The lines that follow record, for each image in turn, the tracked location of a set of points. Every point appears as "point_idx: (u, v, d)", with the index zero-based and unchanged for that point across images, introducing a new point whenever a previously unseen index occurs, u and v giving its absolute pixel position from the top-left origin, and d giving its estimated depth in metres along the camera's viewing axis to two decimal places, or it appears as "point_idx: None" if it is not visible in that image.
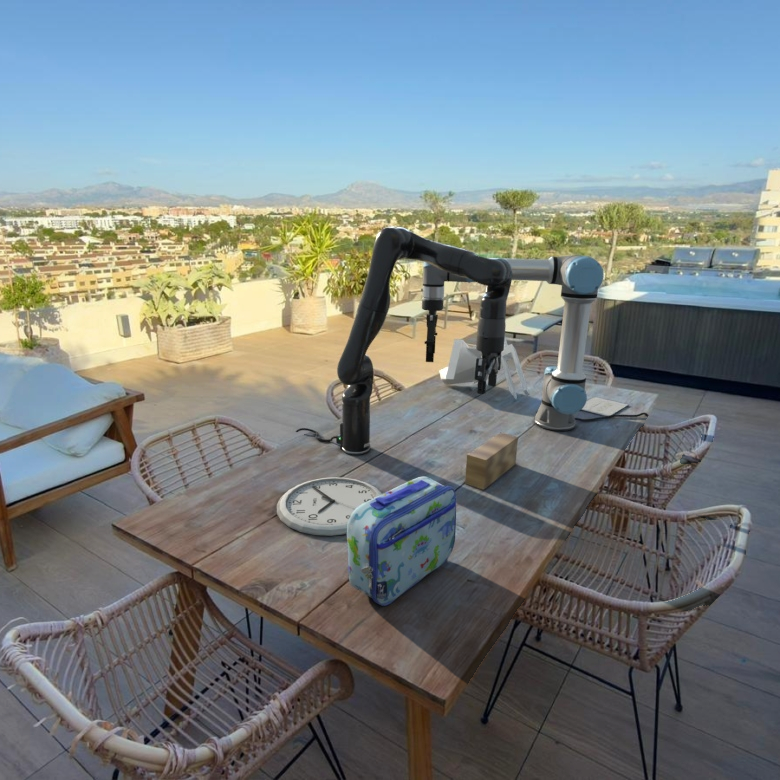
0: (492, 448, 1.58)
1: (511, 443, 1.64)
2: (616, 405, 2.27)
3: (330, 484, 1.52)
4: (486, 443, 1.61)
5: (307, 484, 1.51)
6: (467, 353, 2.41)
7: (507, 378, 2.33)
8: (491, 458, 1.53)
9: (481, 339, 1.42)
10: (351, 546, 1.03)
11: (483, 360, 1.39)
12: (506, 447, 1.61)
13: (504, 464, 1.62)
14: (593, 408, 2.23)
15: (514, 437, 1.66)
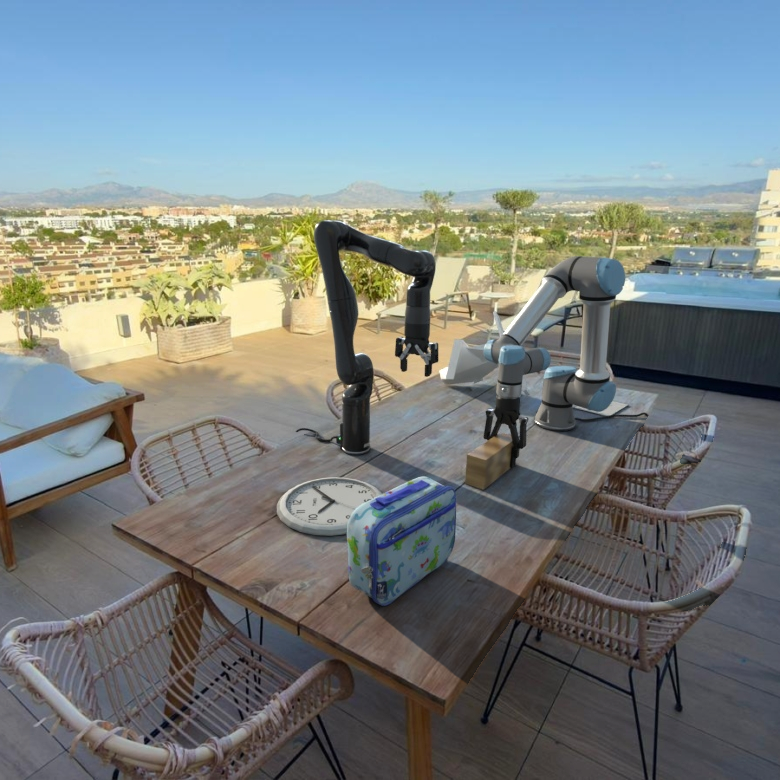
0: (492, 448, 1.58)
1: (511, 443, 1.64)
2: (616, 405, 2.27)
3: (330, 484, 1.52)
4: (486, 443, 1.61)
5: (307, 484, 1.51)
6: (467, 353, 2.41)
7: None
8: (491, 458, 1.53)
9: (424, 326, 1.51)
10: (351, 546, 1.03)
11: (437, 343, 1.53)
12: (506, 447, 1.61)
13: (504, 464, 1.62)
14: None
15: None
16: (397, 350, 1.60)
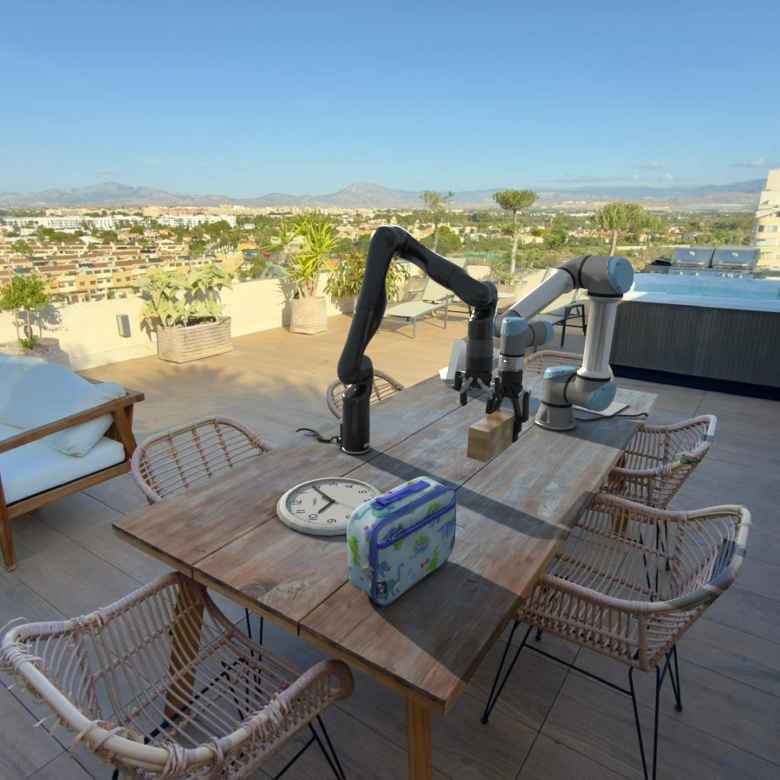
0: (494, 421, 1.55)
1: (514, 417, 1.61)
2: (616, 405, 2.27)
3: (330, 484, 1.52)
4: (488, 417, 1.59)
5: (307, 484, 1.51)
6: None
7: None
8: (494, 430, 1.51)
9: (487, 359, 1.44)
10: (351, 546, 1.03)
11: (501, 377, 1.45)
12: (508, 420, 1.58)
13: (506, 438, 1.60)
14: None
15: None
16: (457, 384, 1.52)
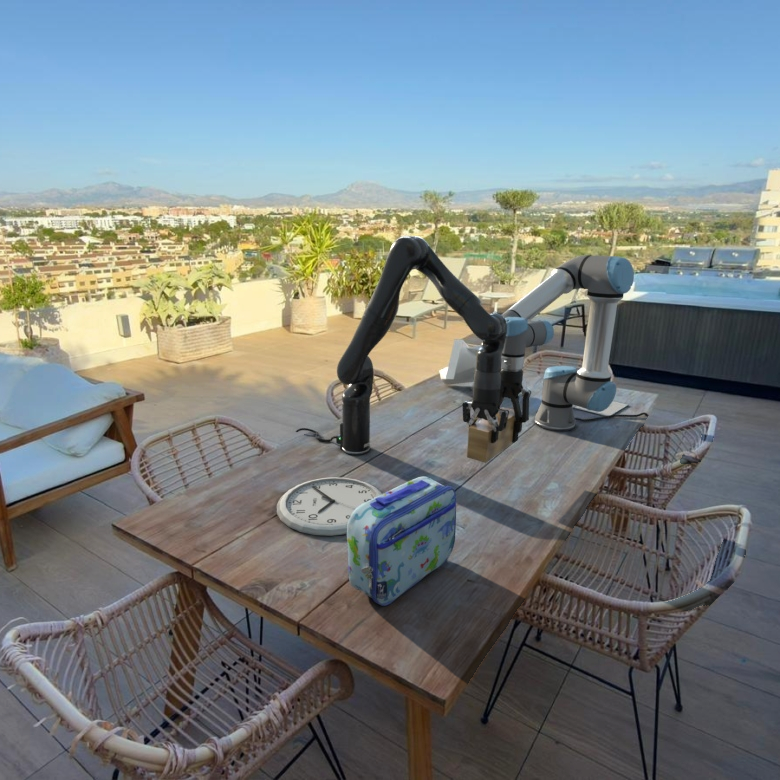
0: None
1: (514, 417, 1.61)
2: (616, 405, 2.27)
3: (330, 484, 1.52)
4: None
5: (307, 484, 1.51)
6: (467, 353, 2.41)
7: None
8: None
9: (495, 392, 1.45)
10: (351, 546, 1.03)
11: (508, 411, 1.47)
12: (508, 421, 1.58)
13: (507, 438, 1.60)
14: None
15: None
16: (465, 415, 1.53)
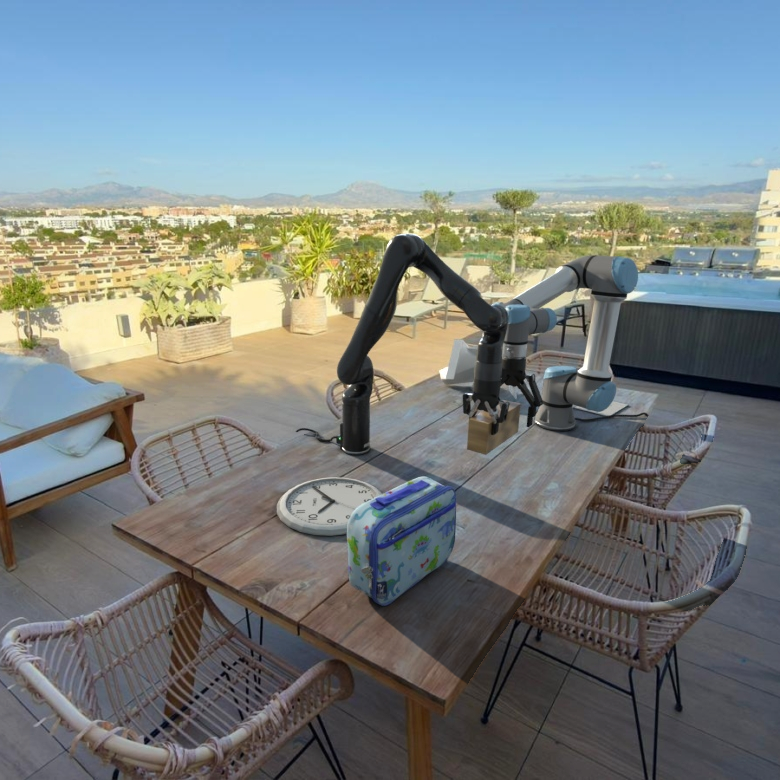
0: None
1: (514, 409, 1.60)
2: (616, 405, 2.27)
3: (330, 484, 1.52)
4: None
5: (307, 484, 1.51)
6: (467, 353, 2.41)
7: None
8: None
9: (496, 383, 1.44)
10: (351, 546, 1.03)
11: (508, 403, 1.46)
12: (509, 413, 1.57)
13: (507, 431, 1.59)
14: None
15: (517, 404, 1.63)
16: (465, 407, 1.52)
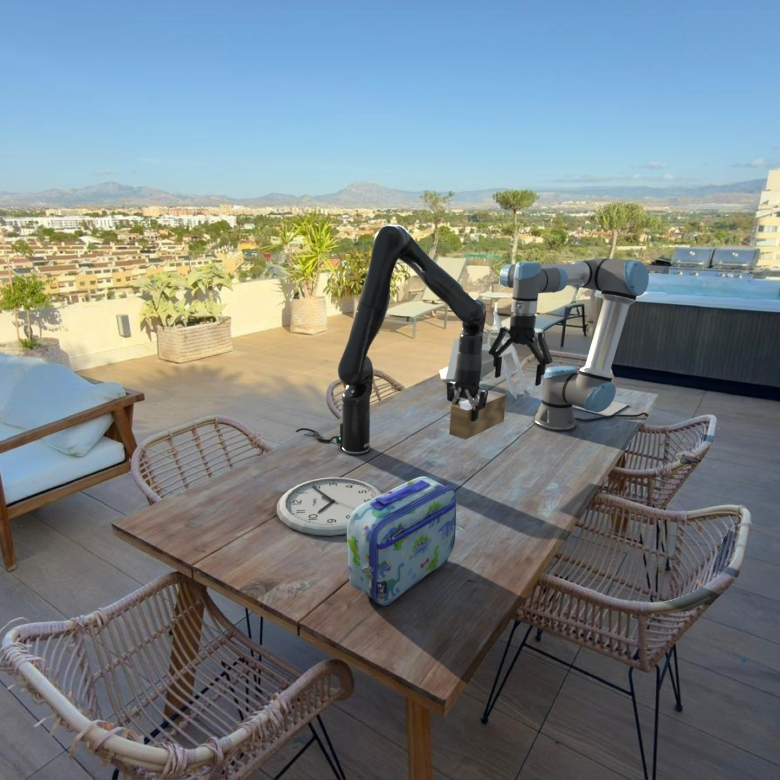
0: None
1: (498, 399, 1.70)
2: (616, 405, 2.27)
3: (330, 484, 1.52)
4: (473, 398, 1.69)
5: (307, 484, 1.51)
6: None
7: (507, 378, 2.33)
8: None
9: (475, 373, 1.55)
10: (351, 546, 1.03)
11: (487, 392, 1.56)
12: (492, 402, 1.67)
13: (490, 419, 1.69)
14: None
15: (502, 395, 1.73)
16: (449, 394, 1.64)
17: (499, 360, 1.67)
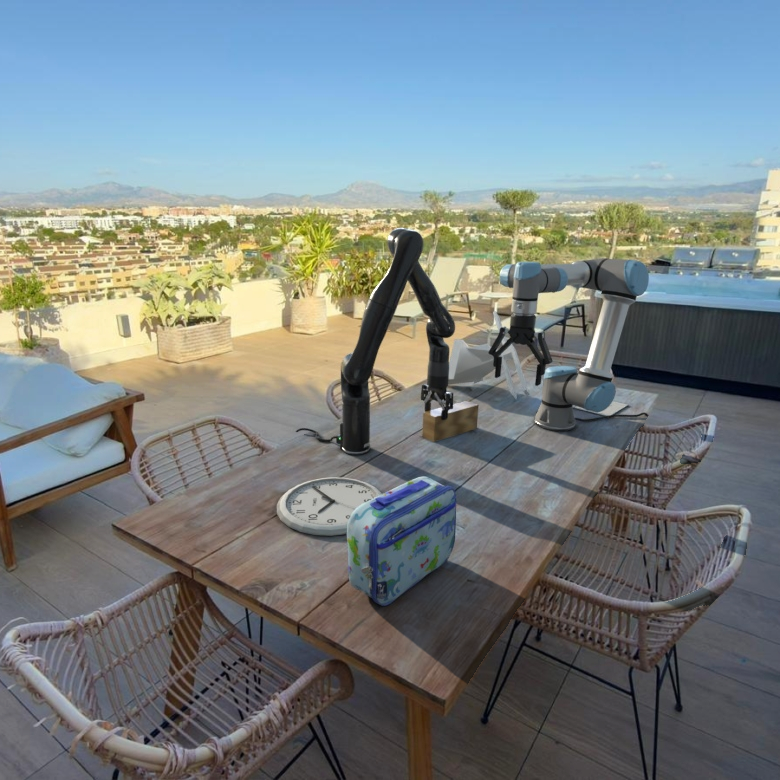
0: (448, 410, 1.90)
1: (469, 408, 1.94)
2: (616, 405, 2.27)
3: (330, 484, 1.52)
4: None
5: (307, 484, 1.51)
6: (467, 353, 2.41)
7: (507, 378, 2.33)
8: None
9: (441, 378, 1.80)
10: (351, 546, 1.03)
11: (452, 393, 1.81)
12: (462, 411, 1.92)
13: (461, 426, 1.93)
14: None
15: (474, 405, 1.96)
16: (422, 395, 1.90)
17: (499, 360, 1.67)
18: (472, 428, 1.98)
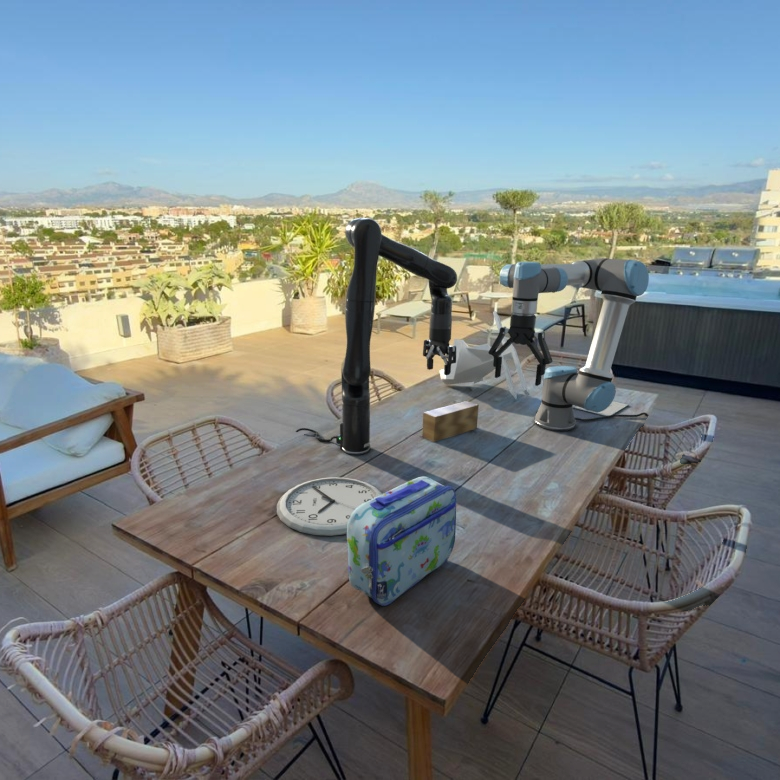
0: (448, 410, 1.90)
1: (469, 408, 1.94)
2: (616, 405, 2.27)
3: (330, 484, 1.52)
4: (446, 406, 1.94)
5: (307, 484, 1.51)
6: (467, 353, 2.41)
7: (507, 378, 2.33)
8: (442, 417, 1.86)
9: (444, 331, 1.75)
10: (351, 546, 1.03)
11: (455, 346, 1.75)
12: (462, 411, 1.92)
13: (461, 426, 1.93)
14: None
15: (474, 405, 1.96)
16: (424, 350, 1.85)
17: (499, 360, 1.67)
18: (472, 428, 1.98)
